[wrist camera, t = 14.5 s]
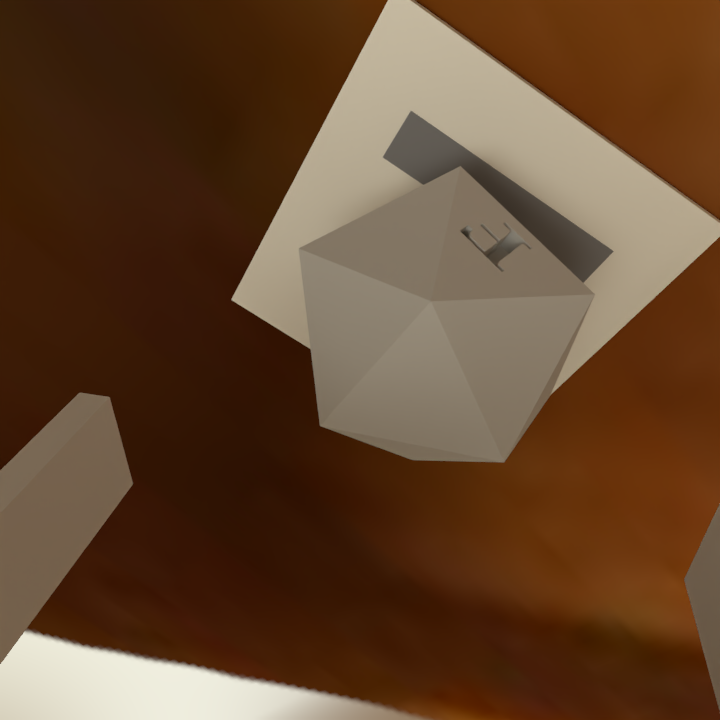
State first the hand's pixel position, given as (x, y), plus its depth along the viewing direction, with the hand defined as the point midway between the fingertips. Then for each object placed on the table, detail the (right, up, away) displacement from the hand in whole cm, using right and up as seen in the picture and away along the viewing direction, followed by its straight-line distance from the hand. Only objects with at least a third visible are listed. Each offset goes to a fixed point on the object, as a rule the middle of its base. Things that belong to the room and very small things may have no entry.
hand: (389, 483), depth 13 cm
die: (+3, +6, +10) cm, 12 cm away
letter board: (+3, +6, +10) cm, 12 cm away
